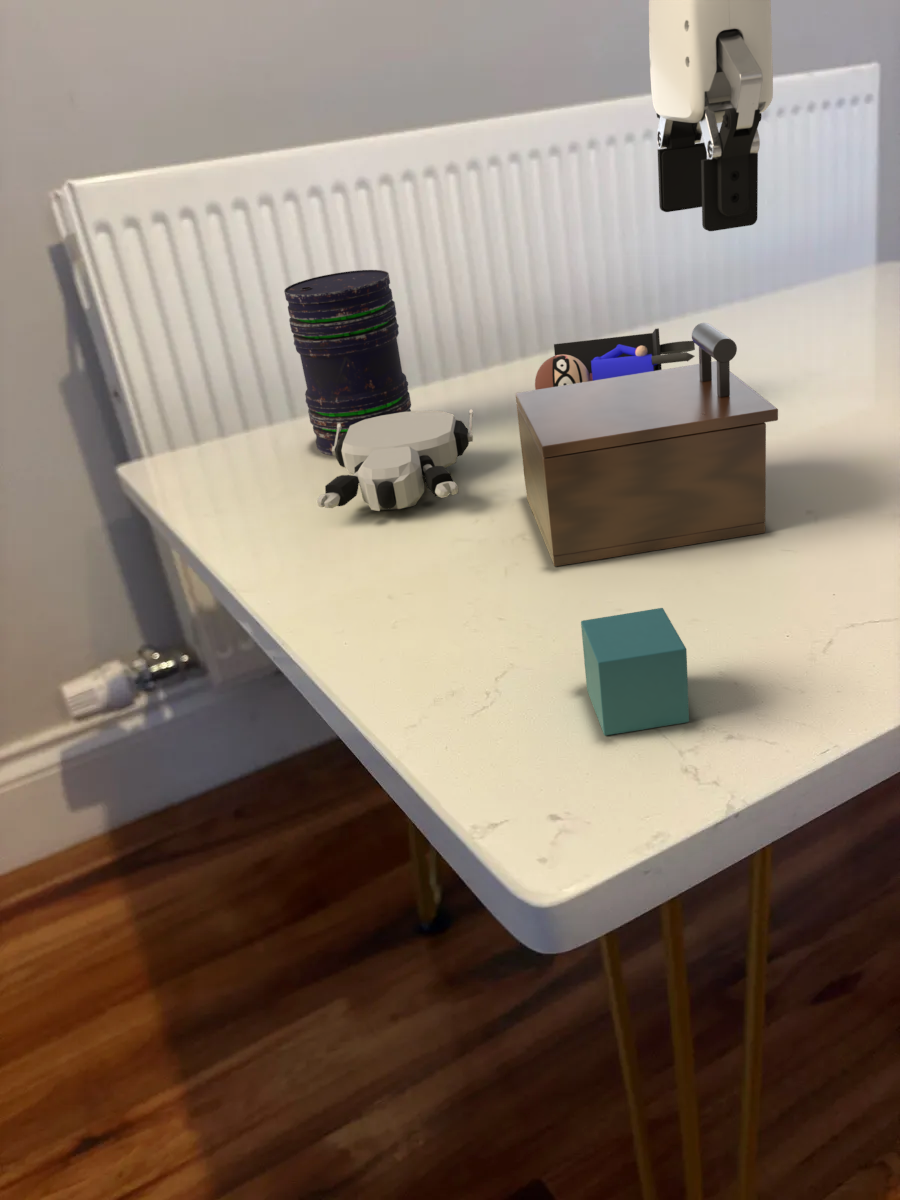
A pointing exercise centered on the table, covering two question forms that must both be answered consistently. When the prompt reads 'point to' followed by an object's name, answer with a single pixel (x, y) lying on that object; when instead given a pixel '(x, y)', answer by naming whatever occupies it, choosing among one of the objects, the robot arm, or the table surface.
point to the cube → (635, 671)
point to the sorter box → (647, 493)
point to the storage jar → (347, 350)
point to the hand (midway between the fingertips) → (705, 217)
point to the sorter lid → (646, 403)
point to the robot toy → (397, 459)
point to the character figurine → (609, 359)
